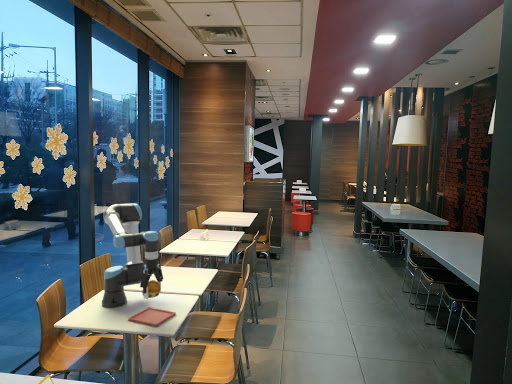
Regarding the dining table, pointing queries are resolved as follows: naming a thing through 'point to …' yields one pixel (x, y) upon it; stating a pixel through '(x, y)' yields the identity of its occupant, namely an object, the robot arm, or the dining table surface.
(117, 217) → the robot arm
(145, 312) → the tray
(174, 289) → the dining table surface
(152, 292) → the cheeseburger
